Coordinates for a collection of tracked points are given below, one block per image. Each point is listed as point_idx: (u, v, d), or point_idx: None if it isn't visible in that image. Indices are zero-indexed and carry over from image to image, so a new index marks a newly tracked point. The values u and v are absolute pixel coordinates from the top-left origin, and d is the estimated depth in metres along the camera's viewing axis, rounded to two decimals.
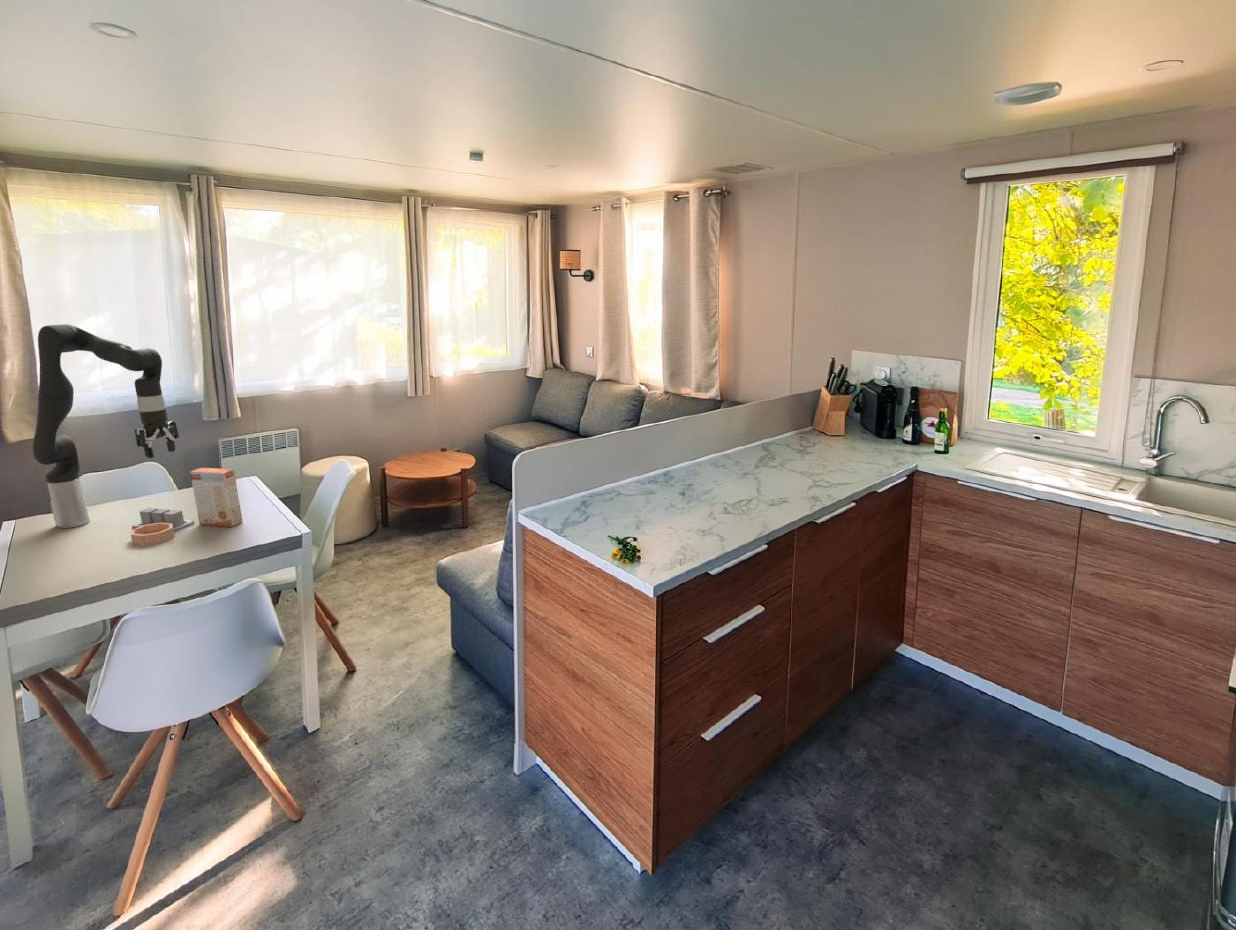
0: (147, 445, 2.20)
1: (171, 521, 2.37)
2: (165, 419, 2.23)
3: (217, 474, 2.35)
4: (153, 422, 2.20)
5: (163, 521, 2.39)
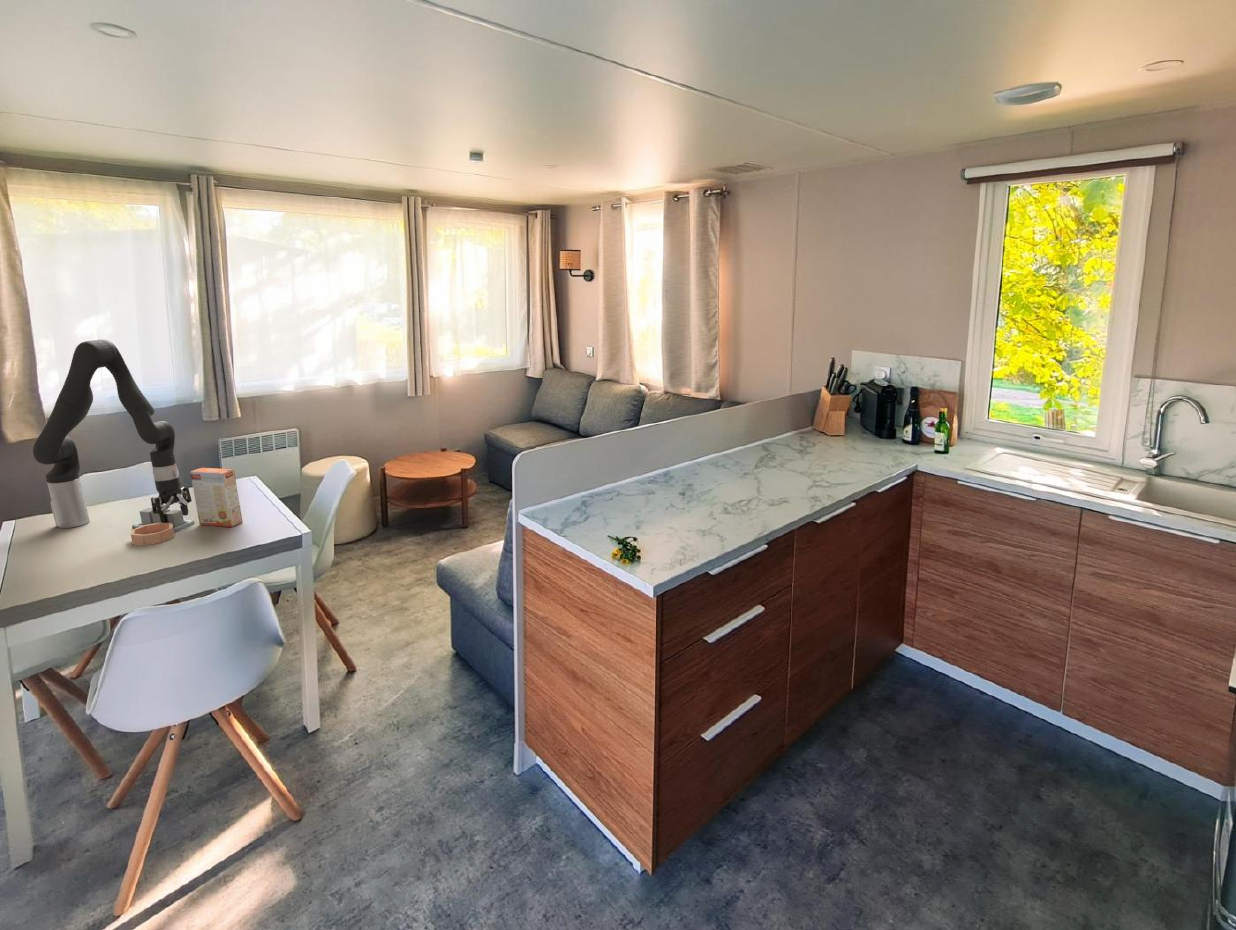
0: (162, 512, 2.33)
1: (171, 521, 2.37)
2: (179, 486, 2.36)
3: (217, 474, 2.35)
4: (168, 490, 2.33)
5: None
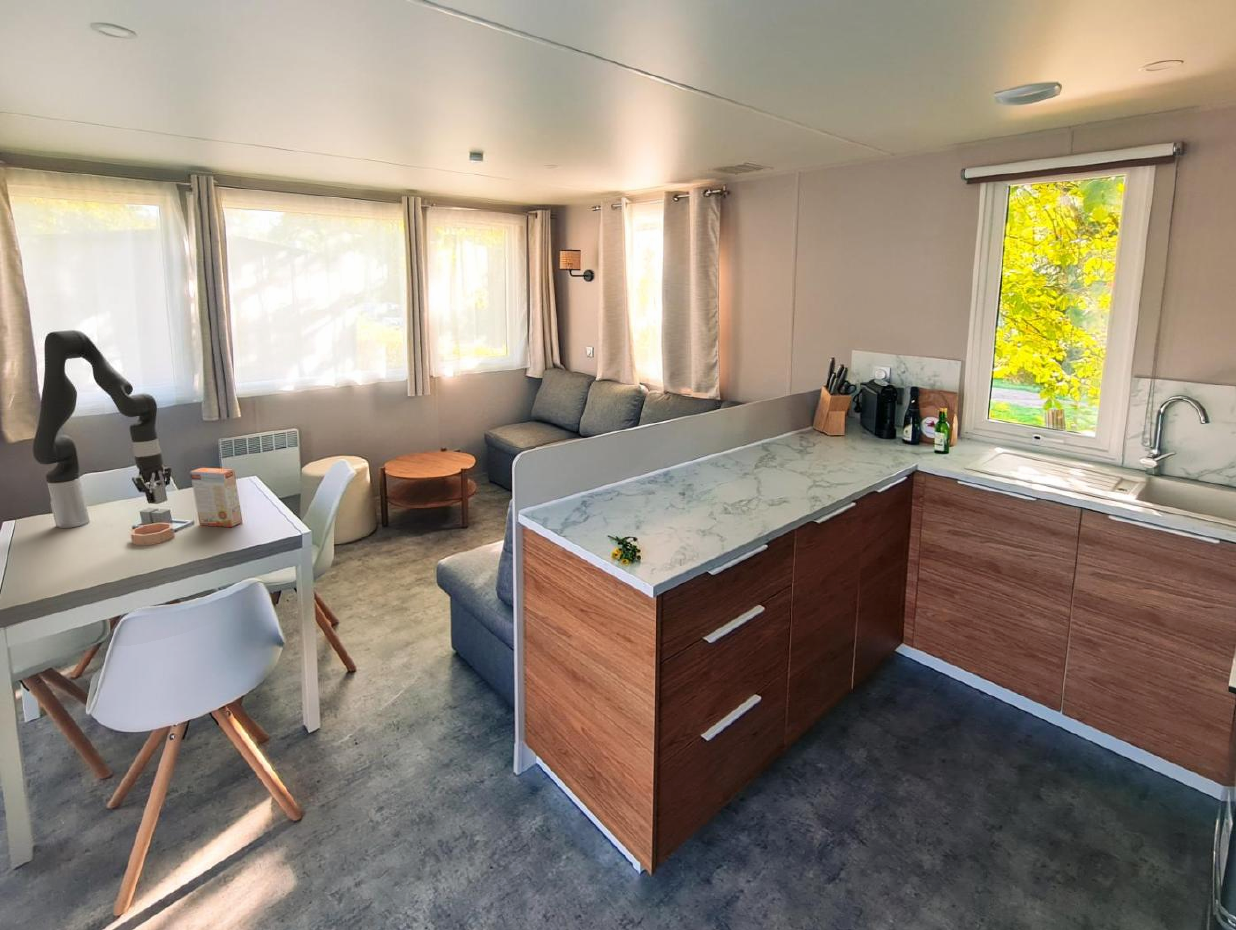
0: (149, 490, 2.23)
1: None
2: (160, 463, 2.24)
3: (217, 474, 2.35)
4: (149, 467, 2.21)
5: (163, 521, 2.39)
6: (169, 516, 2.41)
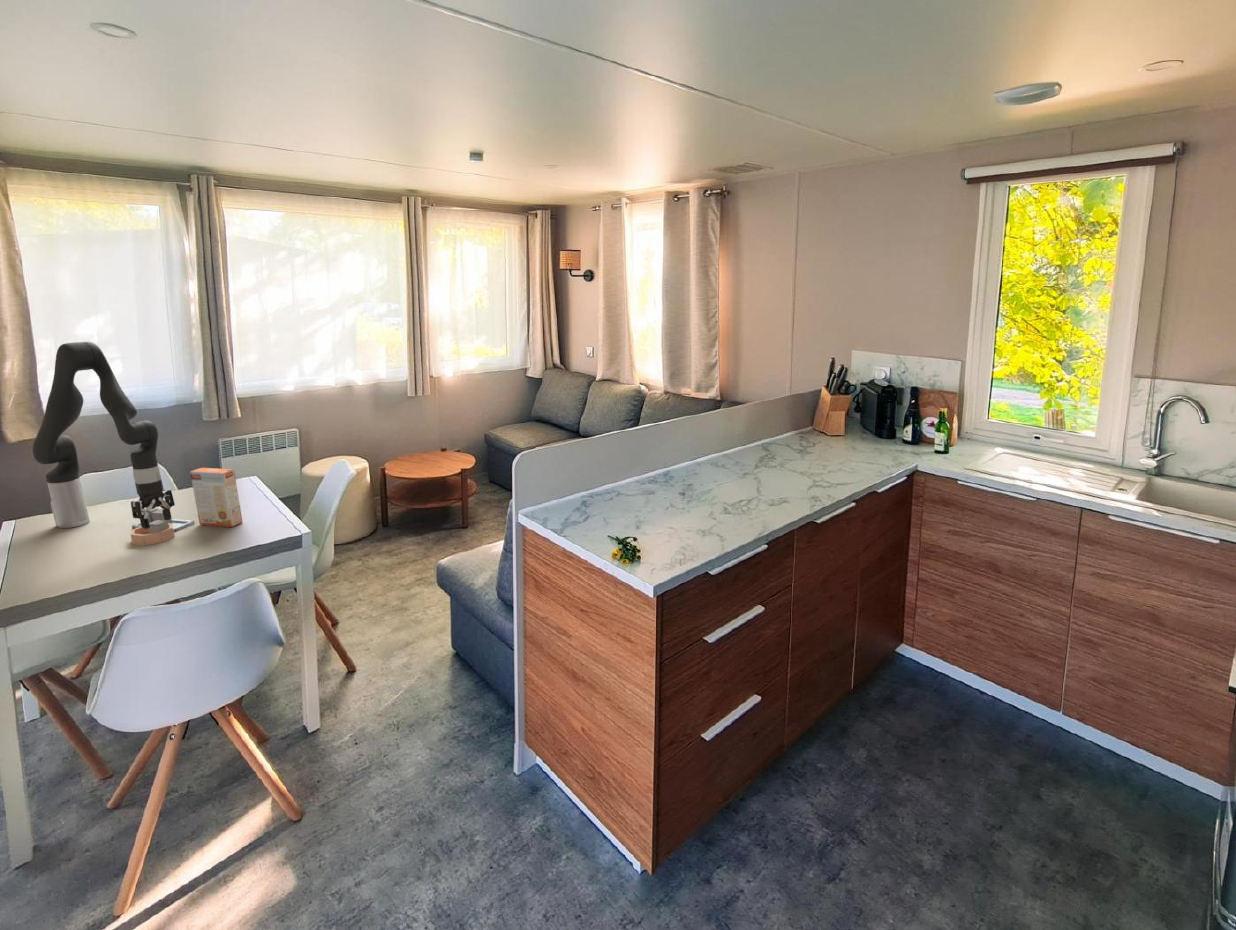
0: (143, 516, 2.21)
1: (156, 532, 2.26)
2: (161, 490, 2.24)
3: (217, 474, 2.35)
4: (149, 494, 2.21)
5: None
6: None
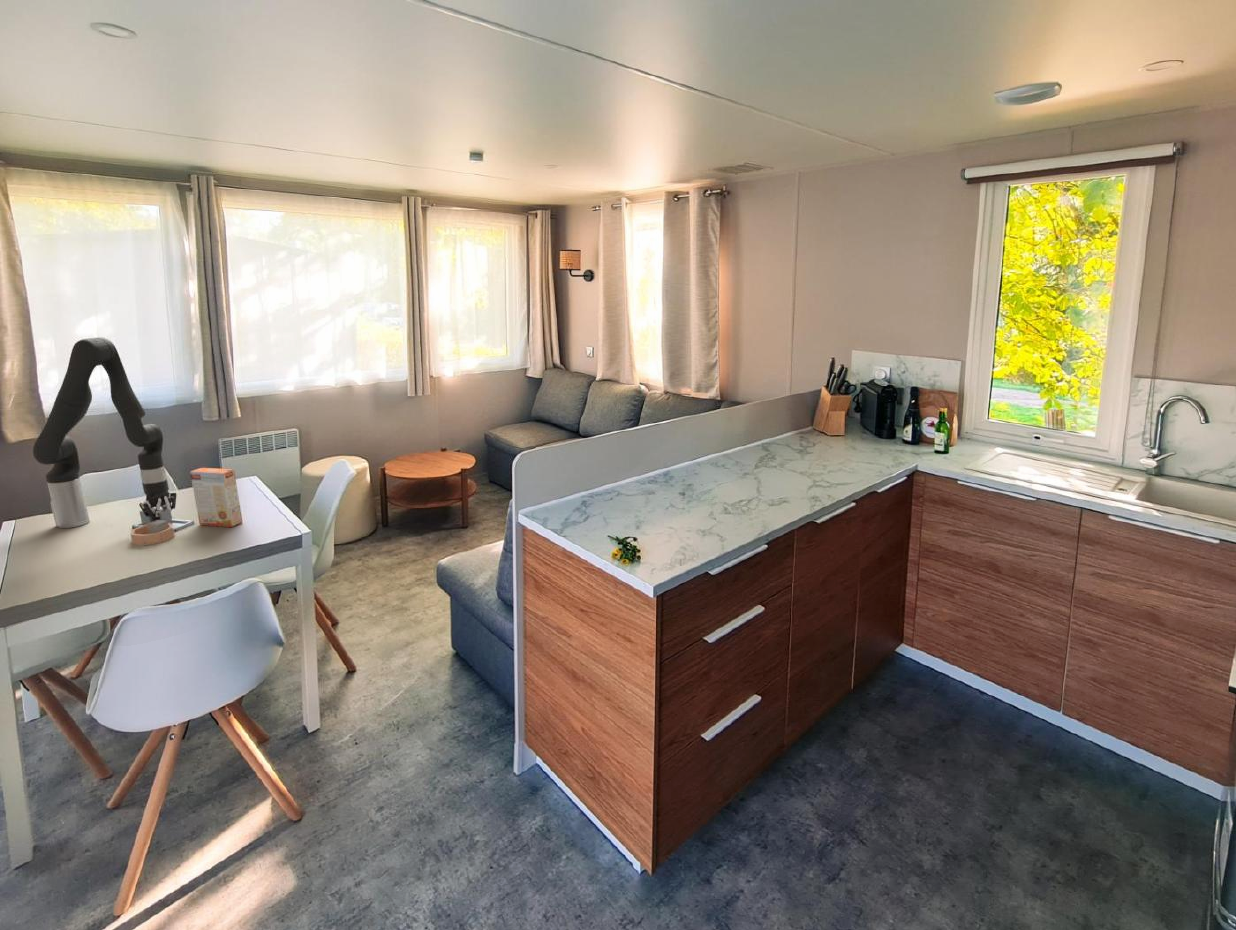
0: (155, 515, 2.36)
1: (156, 532, 2.26)
2: (166, 489, 2.37)
3: (217, 474, 2.35)
4: (155, 493, 2.34)
5: None
6: (169, 516, 2.41)
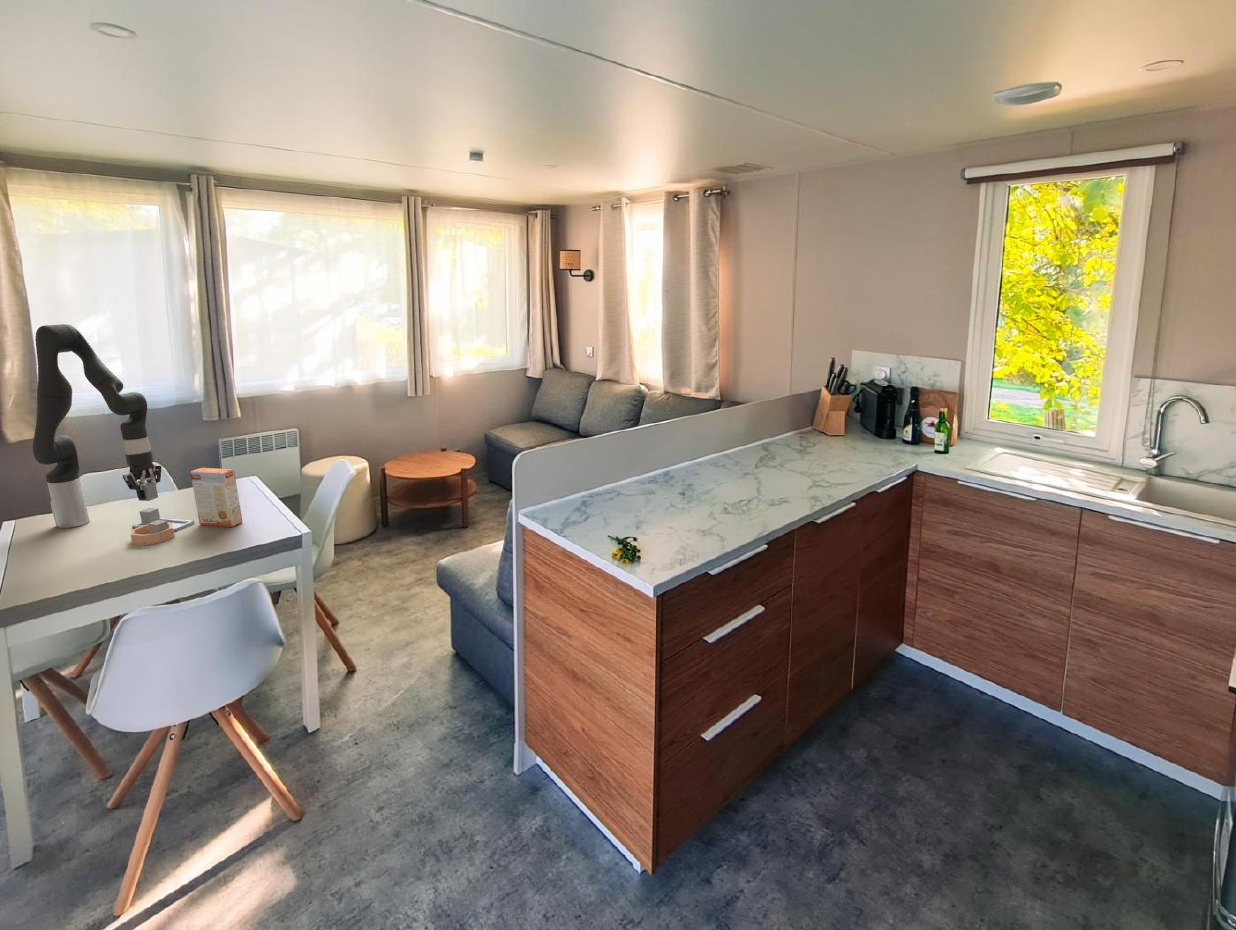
0: (139, 488, 2.26)
1: (156, 532, 2.26)
2: (151, 461, 2.27)
3: (217, 474, 2.35)
4: (139, 464, 2.24)
5: (148, 494, 2.28)
6: (155, 490, 2.31)
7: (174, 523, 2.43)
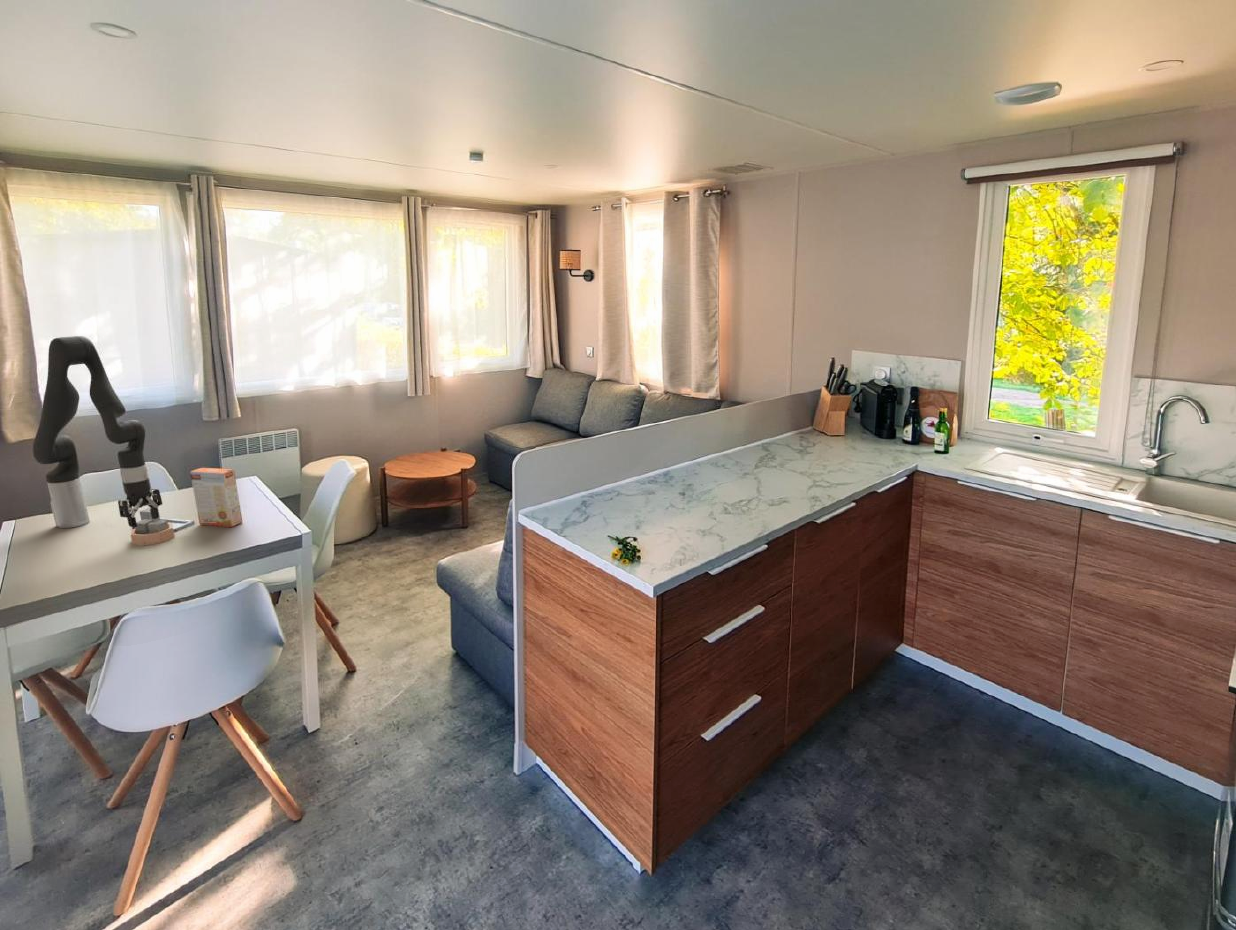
0: (130, 515, 2.22)
1: (156, 532, 2.26)
2: (148, 489, 2.25)
3: (217, 474, 2.35)
4: (136, 492, 2.22)
5: (147, 532, 2.28)
6: None
7: (174, 523, 2.43)
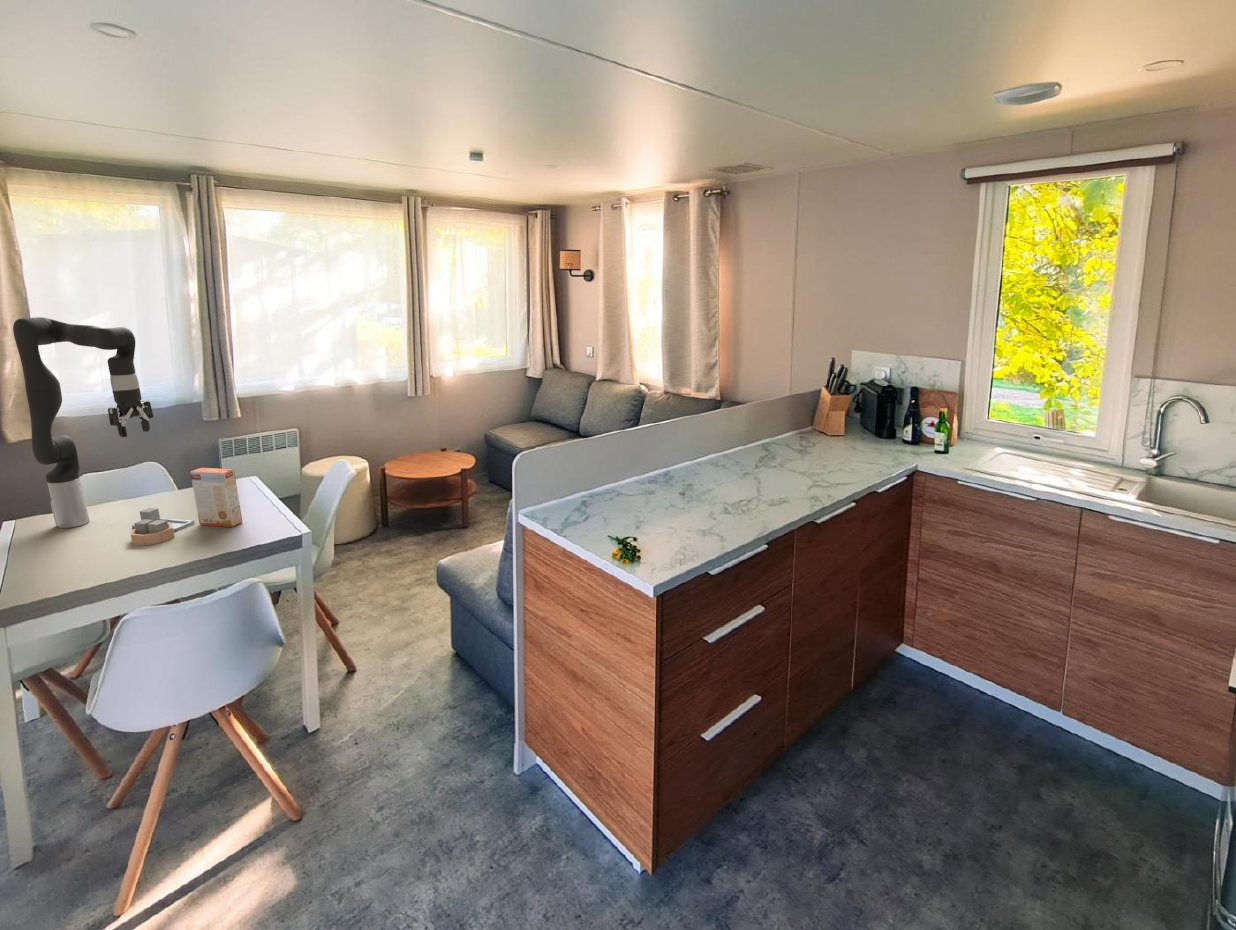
0: (120, 424, 2.19)
1: (156, 532, 2.26)
2: (139, 398, 2.23)
3: (217, 474, 2.35)
4: (126, 401, 2.19)
5: (147, 532, 2.28)
6: None
7: (174, 523, 2.43)
